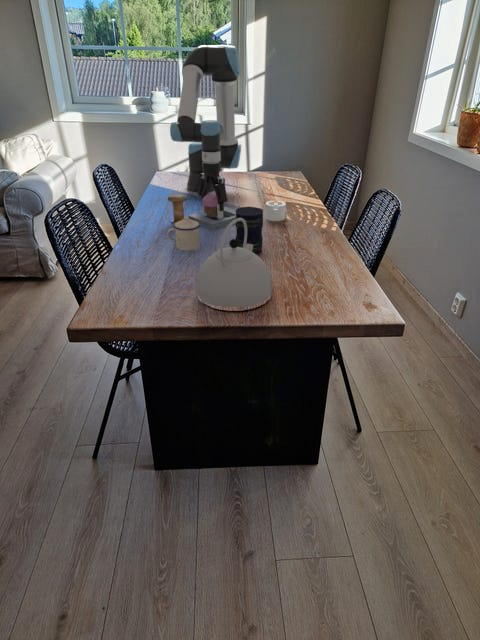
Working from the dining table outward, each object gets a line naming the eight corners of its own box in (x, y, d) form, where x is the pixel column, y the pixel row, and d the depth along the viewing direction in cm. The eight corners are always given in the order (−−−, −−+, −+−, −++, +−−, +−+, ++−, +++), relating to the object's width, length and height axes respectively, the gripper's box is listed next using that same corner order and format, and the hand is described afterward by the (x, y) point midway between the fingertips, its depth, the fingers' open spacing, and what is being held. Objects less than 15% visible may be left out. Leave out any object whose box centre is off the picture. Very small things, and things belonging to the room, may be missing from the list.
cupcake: (226, 215, 196) (226, 192, 191) (216, 220, 189) (216, 197, 184) (209, 212, 199) (208, 189, 194) (199, 217, 193) (197, 194, 187)
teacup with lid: (201, 243, 169) (200, 213, 163) (199, 252, 162) (197, 221, 156) (170, 242, 170) (167, 213, 164) (166, 252, 162) (163, 221, 156)
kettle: (219, 269, 149) (218, 203, 138) (284, 281, 141) (288, 211, 130) (182, 302, 129) (177, 227, 118) (255, 318, 122) (256, 240, 110)
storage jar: (243, 257, 157) (243, 216, 150) (230, 248, 165) (230, 209, 157) (267, 253, 161) (268, 212, 154) (254, 244, 169) (255, 205, 161)
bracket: (284, 222, 192) (285, 206, 188) (264, 221, 192) (265, 206, 189) (285, 208, 209) (285, 194, 205) (266, 207, 210) (267, 193, 206)
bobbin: (166, 222, 190) (163, 196, 184) (180, 218, 195) (179, 193, 189) (177, 227, 185) (175, 200, 179) (192, 222, 190) (191, 197, 184)
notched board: (188, 221, 192) (187, 215, 190) (222, 211, 204) (222, 205, 202) (212, 230, 182) (212, 224, 181) (246, 219, 194) (246, 213, 193)
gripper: (187, 159, 187) (190, 211, 198) (222, 167, 173) (223, 223, 185) (201, 156, 191) (203, 208, 203) (236, 164, 178) (236, 219, 190)
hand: (213, 215), depth 194 cm, fingers closed on cupcake, 9 cm apart
